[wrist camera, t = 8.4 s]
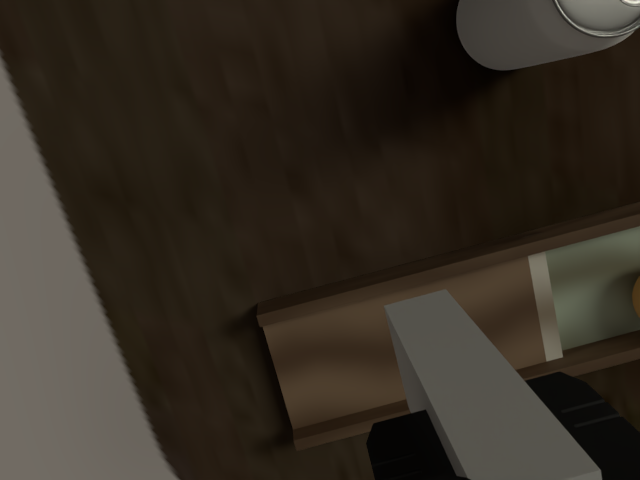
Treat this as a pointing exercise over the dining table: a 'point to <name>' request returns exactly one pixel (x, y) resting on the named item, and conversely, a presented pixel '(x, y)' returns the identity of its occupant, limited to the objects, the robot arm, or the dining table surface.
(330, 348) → the lane
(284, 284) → the dining table surface
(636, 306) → the ball
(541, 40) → the can
